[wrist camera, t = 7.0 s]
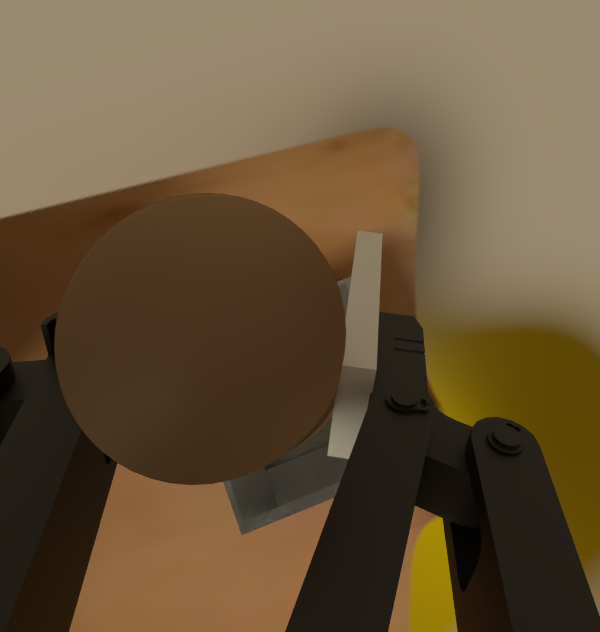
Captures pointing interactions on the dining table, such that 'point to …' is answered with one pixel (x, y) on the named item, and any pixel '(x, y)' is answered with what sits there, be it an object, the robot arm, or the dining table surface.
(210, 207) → the brown wooden cylinder
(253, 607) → the dining table surface
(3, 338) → the dining table surface
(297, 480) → the grey square socket base
